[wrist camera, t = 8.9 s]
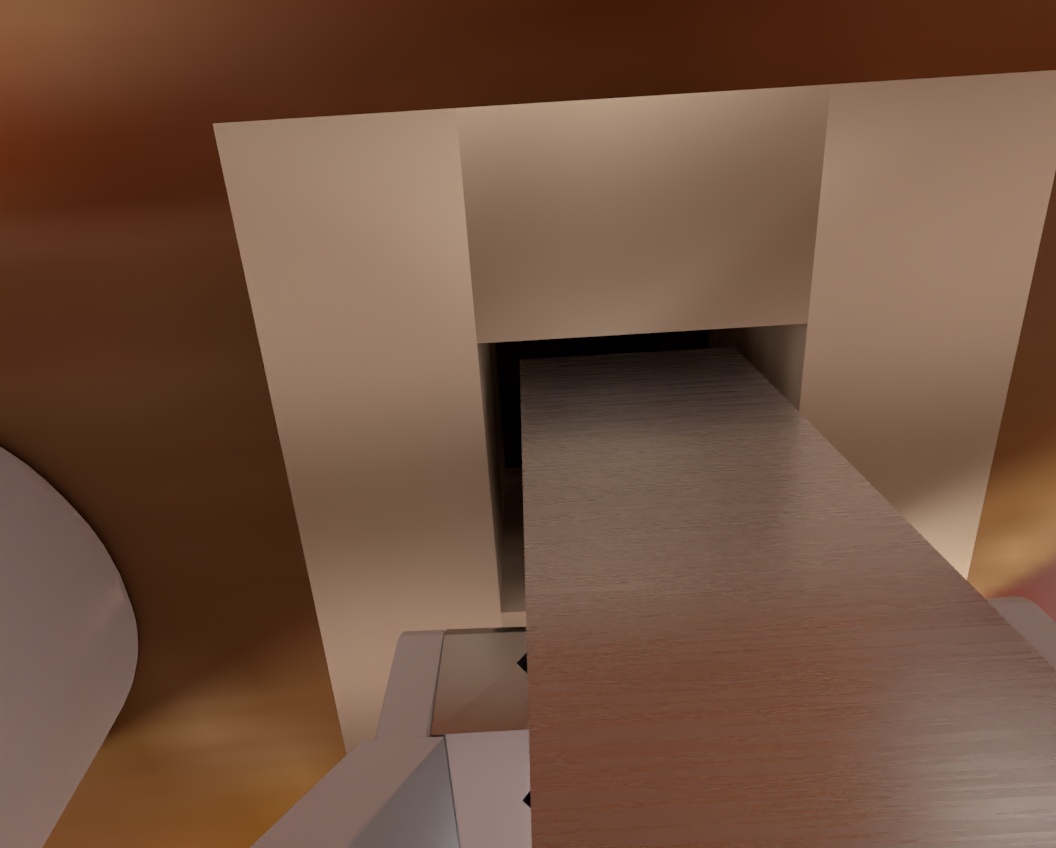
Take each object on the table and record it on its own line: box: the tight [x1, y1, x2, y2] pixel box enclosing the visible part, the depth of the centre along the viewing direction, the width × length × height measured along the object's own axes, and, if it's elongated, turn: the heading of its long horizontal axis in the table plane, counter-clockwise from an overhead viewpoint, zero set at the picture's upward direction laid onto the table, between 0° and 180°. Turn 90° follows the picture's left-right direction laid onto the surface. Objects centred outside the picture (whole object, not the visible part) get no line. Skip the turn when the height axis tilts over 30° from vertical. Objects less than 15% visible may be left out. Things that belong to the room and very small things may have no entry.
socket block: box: [212, 70, 1056, 754], centre depth 15 cm, size 12×12×6 cm
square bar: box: [520, 347, 1056, 848], centre depth 9 cm, size 4×4×12 cm
